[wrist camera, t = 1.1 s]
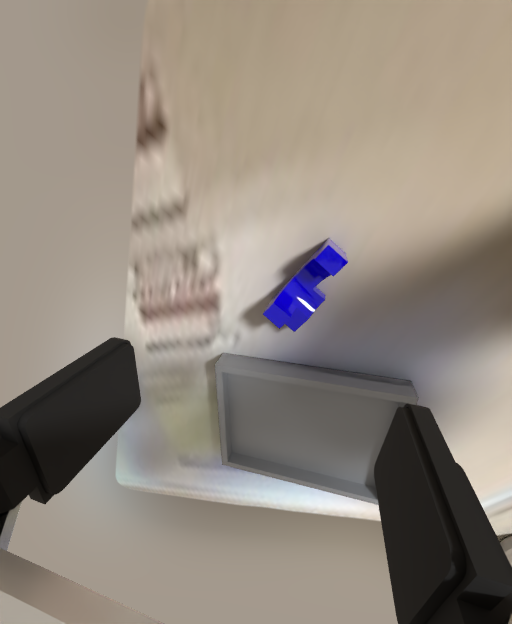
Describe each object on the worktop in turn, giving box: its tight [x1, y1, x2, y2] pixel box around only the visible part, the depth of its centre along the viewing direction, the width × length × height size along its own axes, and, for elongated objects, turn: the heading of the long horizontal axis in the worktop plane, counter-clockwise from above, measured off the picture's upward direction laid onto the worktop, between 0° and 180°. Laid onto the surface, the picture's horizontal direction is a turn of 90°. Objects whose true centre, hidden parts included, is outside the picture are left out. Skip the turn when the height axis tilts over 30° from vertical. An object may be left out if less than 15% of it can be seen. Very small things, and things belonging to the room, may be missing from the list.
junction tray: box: [215, 353, 418, 505], centre depth 30 cm, size 20×16×2 cm
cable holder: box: [263, 238, 348, 332], centre depth 23 cm, size 8×4×4 cm, turn 141°
